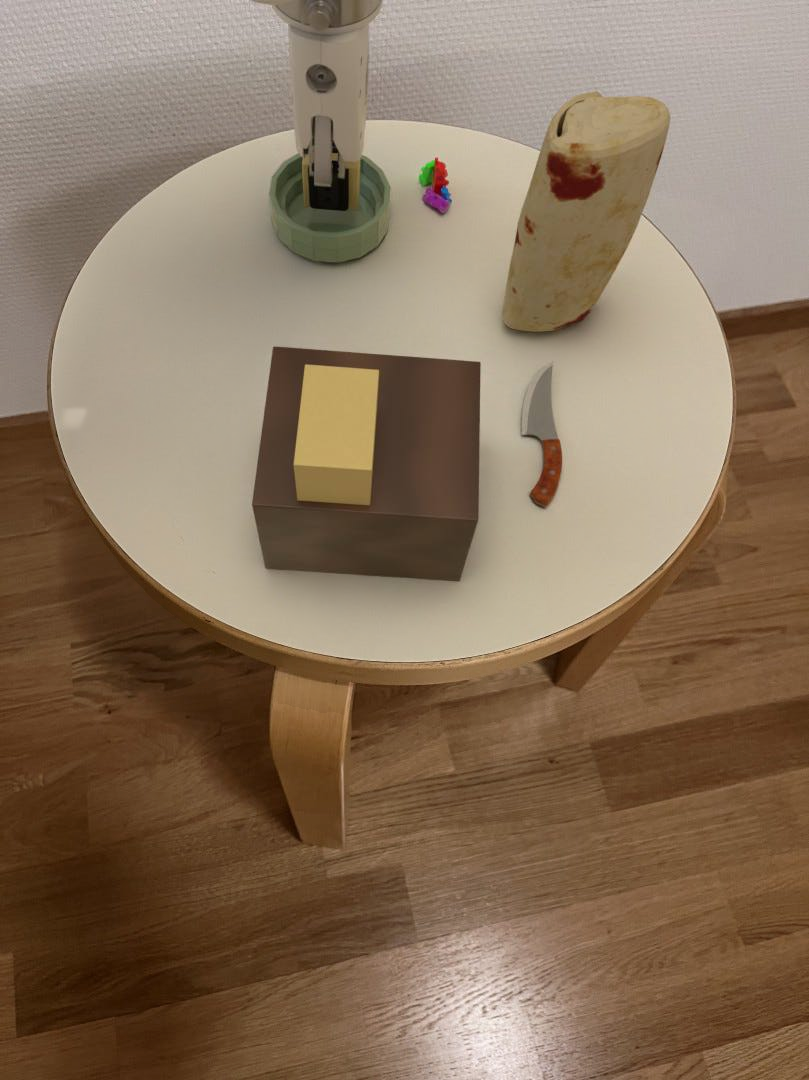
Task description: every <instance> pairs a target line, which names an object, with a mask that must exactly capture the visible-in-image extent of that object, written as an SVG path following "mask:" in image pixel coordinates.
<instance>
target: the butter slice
mask: <svg viewBox="0 0 809 1080" xmlns="http://www.w3.org/2000/svg"><path fill="white" fill-rule="evenodd" d="M332 160H335V161H337V162H338V153H332ZM308 166H309V152H308V155H305V158H303V160H302V174H303V193H304V206H305V207H310V203H309V184H308ZM345 169H349V206H348V210H351V211H358V204H359V193H360V159H359V160H358V161H357V162H345Z"/></svg>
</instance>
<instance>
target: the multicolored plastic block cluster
mask: <svg viewBox="0 0 809 1080" xmlns="http://www.w3.org/2000/svg"><path fill="white" fill-rule="evenodd" d="M420 170H421V172H422V173H419V175H418V179H419V181H420V182H421V184H422V185H423V186H427V185H429V184H431V188H429V187H428V188H426V189H425V193H426V194H423V195H422V197H421V198H422V200H423V201H424V202H426V203H427V204H429V205H430V206H432V207H433V208H435V209H437V210H438V212H441V213H443V214H446V212H447V210H448V208H449V207H450V205H451V203H452V201H453V200H452V199H451V198H450V196H451V195H452V193H450V191H449V188H448V187H447V186H449V184H450V181H449V180H448V179H446V178H447V177H448V176H449V173H448V170H447V169H446V164H445V163H444V162H443V161H440V160H439V157H434V159H433V160H431V161H430V162H429V161H428V162H426V163H425V166H422V167H421V169H420Z"/></svg>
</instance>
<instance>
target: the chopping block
mask: <svg viewBox="0 0 809 1080" xmlns="http://www.w3.org/2000/svg"><path fill="white" fill-rule="evenodd" d="M481 364H482V363H481V361H474V360H461V359H459V360H458V359H450V358H449V359H448V358H437V357H436V358H435V357H423V356H411V355H409V356H408V355H395V354H381V353H367V352H354V351H343V350H342V351H340V350H329V349H328V350H327V349H314V348H302V347H301V348H300V347H290V346H289V347H288V346H275V345H274V346H273V347H272V353H271V359H270V365H269V374H268V381H267V389H266V395H265V396H266V397H265V404H264V411H263V418H262V426H261V434H260V442H259V450H258V455H257V464H256V471H255V477H254V478H255V479H254V486H253V494H252V500H251V507H252V511H253V516H254V521H255V526H256V531H257V537H258V540H259V546H260V550H261V551H260V552H261V556H262V560H263V563H264V564H263V565H264V568H265V569H270V570H285V571H299V572H300V571H301V572H314V573H315V572H316V573H330V574H331V573H332V574H345V575H362V576H374V577H376V576H377V577H389V578H390V577H391V578H406V579H420V580H421V579H422V580H436V581H437V580H438V581H451V582H461V578H462V576H463V573H464V569H465V565H466V563H467V559H468V556H469V553H470V549H471V546H472V543H473V539H474V536H475V533H476V529H477V526H478V522H479V514H480V513H479V511H480V510H479V509H480V508H479V507H480V503H479V502H480V442H481V441H480V440H481V439H480V437H481V373H482V372H481V371H482V370H481ZM305 365H319V366H333V367H346V368H360V369H373V370H379V383H378V401H377V417H376V431H375V445H374V459H373V473H372V487H371V501H370V505H355V504H341V503H327V502H312V501H298V500H297V492H296V482H295V473H294V457H295V448H296V439H297V430H298V422H299V413H300V404H301V395H302V387H303V378H304V369H305Z"/></svg>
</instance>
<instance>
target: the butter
mask: <svg viewBox="0 0 809 1080" xmlns="http://www.w3.org/2000/svg"><path fill="white" fill-rule="evenodd" d="M378 383H379V370H373V369H360V368H346V367H333V366H319V365H305V369H304V378H303V387H302V395H301V404H300V413H299V422H298V430H297V439H296V448H295V457H294V473H295V482H296V492H297V500H298V501H312V502H327V503H341V504H355V505H370V501H371V487H372V473H373V459H374V445H375V431H376V417H377V401H378Z"/></svg>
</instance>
